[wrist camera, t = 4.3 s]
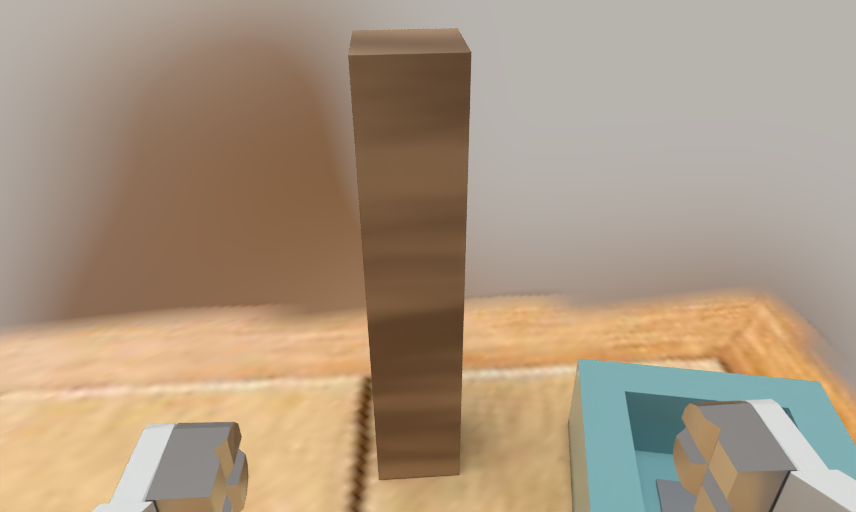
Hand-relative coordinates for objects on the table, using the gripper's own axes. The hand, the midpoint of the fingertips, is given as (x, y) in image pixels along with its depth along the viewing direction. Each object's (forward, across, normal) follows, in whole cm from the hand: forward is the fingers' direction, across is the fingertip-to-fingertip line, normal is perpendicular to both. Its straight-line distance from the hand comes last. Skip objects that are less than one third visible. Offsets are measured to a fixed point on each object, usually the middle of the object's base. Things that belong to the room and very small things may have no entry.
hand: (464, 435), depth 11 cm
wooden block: (+12, 0, -14) cm, 18 cm away
